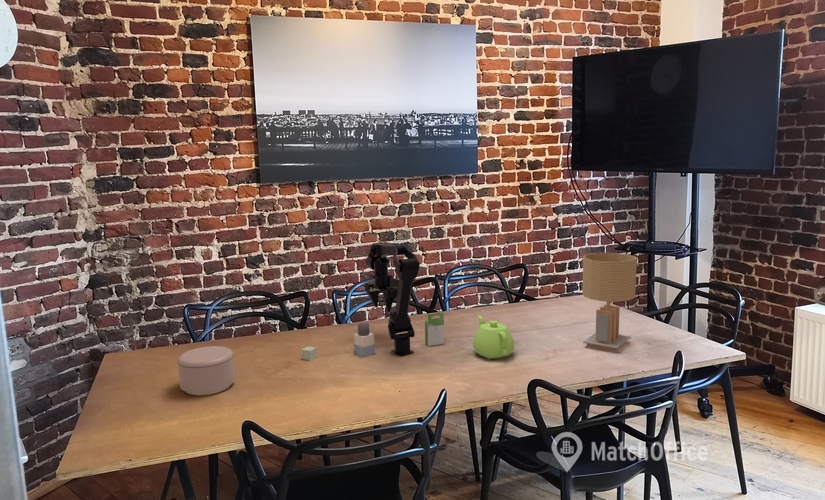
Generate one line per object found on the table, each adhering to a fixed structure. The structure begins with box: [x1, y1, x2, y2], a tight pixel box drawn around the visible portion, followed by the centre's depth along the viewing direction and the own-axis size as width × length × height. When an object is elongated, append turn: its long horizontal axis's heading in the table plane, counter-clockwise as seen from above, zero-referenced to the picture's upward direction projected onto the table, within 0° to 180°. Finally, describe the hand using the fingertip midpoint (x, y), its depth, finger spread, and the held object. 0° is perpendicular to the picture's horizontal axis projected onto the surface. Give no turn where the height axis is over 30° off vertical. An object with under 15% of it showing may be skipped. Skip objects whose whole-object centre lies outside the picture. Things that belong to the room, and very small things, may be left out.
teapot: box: [472, 314, 515, 360], centre depth 227 cm, size 22×15×13 cm
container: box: [177, 345, 236, 396], centre depth 202 cm, size 18×18×12 cm
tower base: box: [353, 342, 376, 358], centre depth 231 cm, size 6×6×4 cm
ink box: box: [424, 311, 445, 347], centre depth 239 cm, size 7×4×13 cm, turn 106°
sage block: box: [301, 345, 318, 361], centre depth 227 cm, size 4×4×4 cm
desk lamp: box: [581, 252, 638, 353], centre depth 231 cm, size 20×20×35 cm
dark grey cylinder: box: [357, 322, 370, 336], centre depth 230 cm, size 4×4×4 cm
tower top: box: [353, 332, 375, 347], centre depth 231 cm, size 5×5×4 cm
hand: (382, 309), depth 245 cm, fingers open, 9 cm apart
